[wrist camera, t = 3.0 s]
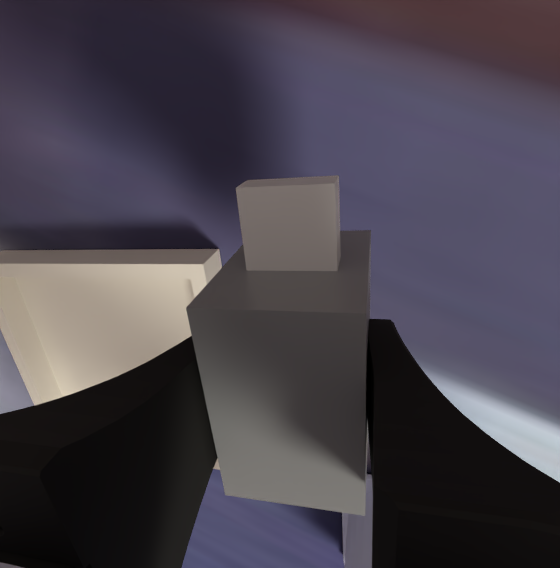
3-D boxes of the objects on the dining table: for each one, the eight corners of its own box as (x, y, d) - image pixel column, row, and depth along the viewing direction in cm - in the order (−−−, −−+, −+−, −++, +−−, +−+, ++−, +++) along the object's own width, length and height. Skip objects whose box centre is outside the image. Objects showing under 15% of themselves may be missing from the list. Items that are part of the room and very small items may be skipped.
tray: (250, 445, 26) (241, 472, 24) (73, 425, 30) (53, 447, 28) (218, 248, 20) (203, 264, 19) (2, 250, 24) (-29, 263, 22)
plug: (368, 435, 15) (364, 577, 11) (277, 425, 16) (237, 553, 11) (371, 159, 11) (367, 205, 6) (246, 167, 12) (165, 211, 7)
